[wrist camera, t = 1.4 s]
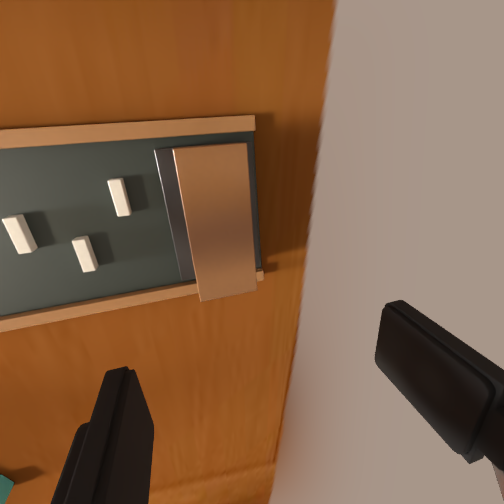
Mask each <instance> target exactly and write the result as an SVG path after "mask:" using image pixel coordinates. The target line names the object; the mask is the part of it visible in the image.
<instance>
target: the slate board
mask: <svg viewBox="0 0 504 504" xmlns="http://www.w3.org/2000/svg"><path fill="white" fill-rule="evenodd" d="M255 130H256V127H255V115H244V116H227V117H210V118H193V119H175V120H158V121H141V122H124V123H107V124H90V125H72V126H55V127H38V128H21V129H4V130H0V332H5V331H10V330H15V329H20V328H25V327H30V326H35V325H40V324H45V323H50V322H55V321H60V320H65V319H70V318H75V317H80V316H85V315H91V314H96V313H101V312H106V311H111V310H116V309H121V308H126V307H131V306H136V305H141V304H146V303H151V302H156V301H161V300H166V299H171V298H176V297H181V296H187V295H192V294H197V293H199V292H198V286H197V281H196V278H194V279H188V280H183V281H182V280H181V276H180V271H179V266H178V261H177V257H176V252H175V247H174V242H173V238H172V233H171V228H170V223H169V219H168V214H167V209H166V204H165V200H164V195H163V190H162V185H161V181H160V176H159V171H158V166H157V162H156V157H155V152H154V149H159V148H172V147H184V146H197V145H209V144H222V143H234V142H247V141H251V142H252V152H253V168H254V183H255V199H256V215H257V230H258V246H259V262H260V266H258V267H256V278H257V281H262V280H264V271H263V269H262V266H261V250H260V233H259V217H258V200H257V184H256V167H255V151H254V134H253V131H255ZM115 178H123V181H124V184H125V188H126V192H127V196H128V199H129V203H130V207H131V210H132V213H131V214H130V215H128V216H120V217H118V215H117V212H116V209H115V205H114V202H113V198H112V195H111V192H110V188H109V185H108V180H110V179H115ZM19 214H23V216H24V218H25V220H26V223H27V225H28V227H29V229H30V232H31V234H32V236H33V238H34V240H35V243H36V245H37V247H38V248H37V249H36V250H35V251H33V252H31V253H24V254H19V253H18V251H17V249H16V247H15V245H14V243H13V241H12V239H11V237H10V235H9V233H8V231H7V229H6V227H5V225H4V223H3V221H2V219H3V218H5V217H7V216H11V215H19ZM82 236H88V237H89V240H90V243H91V246H92V249H93V251H94V254H95V257H96V260H97V263H98V265H99V266H98V268H97V269H96V270H95V271H89V272H83V269H82V267H81V264H80V262H79V259H78V256H77V254H76V251H75V249H74V246H73V243H72V240H74V239H75V238H76V237H82Z"/></svg>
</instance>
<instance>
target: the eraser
mask: <svg viewBox="0 0 504 504" xmlns="http://www.w3.org/2000/svg"><path fill="white" fill-rule="evenodd" d="M154 152H155V157H156V162H157V166H158V171H159V176H160V181H161V185H162V190H163V195H164V200H165V204H166V209H167V214H168V219H169V223H170V228H171V233H172V238H173V242H174V247H175V252H176V257H177V261H178V266H179V271H180V276H181V280H182V281H183V280H188V279H194V278H196V281H197V286H198V292H199V297H200V302H203V301H208V300H213V299H218V298H223V297H227V296H232V295H237V294H242V293H247V292H252V291H257V278H256V267H258V266H260V262H259V246H258V230H257V215H256V199H255V183H254V168H253V152H252V142H251V141H247V142H234V143H222V144H209V145H197V146H184V147H172V148H159V149H154Z"/></svg>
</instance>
